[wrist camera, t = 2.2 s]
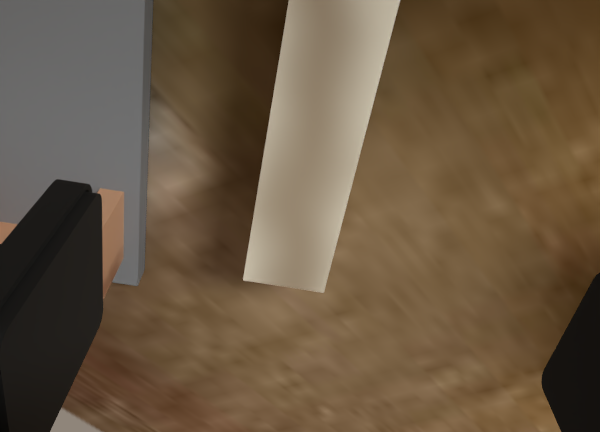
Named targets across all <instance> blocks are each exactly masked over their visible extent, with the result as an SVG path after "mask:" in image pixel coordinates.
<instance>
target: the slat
mask: <svg viewBox="0 0 600 432" xmlns="http://www.w3.org/2000/svg"><path fill="white" fill-rule="evenodd" d="M399 3H400V0H289V2H288V8H287V14H286V21H285V27H284V33H283V39H282V45H281V51H280V57H279V63H278V69H277V75H276V81H275V88H274V94H273V100H272V106H271V112H270V118H269V124H268V130H267V136H266V142H265V149H264V155H263V161H262V167H261V173H260V179H259V185H258V191H257V197H256V203H255V209H254V216H253V222H252V228H251V234H250V240H249V246H248V252H247V258H246V264H245V270H244V276H243V280H244V281H251V282H257V283H264V284H270V285H276V286H283V287H289V288H296V289H302V290H309V291H315V292H322V293H324V290H325V286H326V282H327V278H328V275H329V271H330V267H331V263H332V259H333V255H334V252H335V248H336V244H337V240H338V236H339V232H340V229H341V225H342V221H343V217H344V213H345V210H346V206H347V202H348V198H349V194H350V190H351V187H352V183H353V179H354V175H355V171H356V168H357V164H358V160H359V156H360V152H361V148H362V145H363V141H364V137H365V133H366V129H367V125H368V122H369V118H370V114H371V110H372V106H373V103H374V99H375V95H376V91H377V87H378V83H379V80H380V76H381V72H382V68H383V64H384V60H385V57H386V53H387V49H388V45H389V41H390V38H391V34H392V30H393V26H394V22H395V18H396V15H397V11H398V7H399Z"/></svg>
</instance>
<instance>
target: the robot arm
mask: <svg viewBox="0 0 600 432" xmlns="http://www.w3.org/2000/svg"><path fill="white" fill-rule="evenodd" d="M102 314H103V246H102V197H101V195H100V194H98V193H92V188H91V186H90V184H86V183H79V182H73V181H67V180H60V179H56V180H55V181H54V182H53V183H52V184H51V185H50V186H49V187H48V189H47V190H46V191H45V192H44V193H43V195H42V196H41V197H40V198H39V199H38V201H37V202H36V203H35V204H34V205H33V207H32V208H31V209H30V210H29V211H28V213H27V214H26V215H25V216H24V217H23V219H22V220H21V221H20V222H19V223H18V224H17V226H16V227H15V228H14V229H13V230H12V232H11V233H10V234H9V235H8V236H7V238H6V239H5V240H4V241H3V242H2V244H0V432H50V430H51V428H52V426H53V424H54V422H55V420H56V417H57V415H58V413H59V411H60V409H61V407H62V405H63V403H64V400H65V398H66V396H67V394H68V392H69V390H70V388H71V386H72V384H73V381H74V379H75V377H76V375H77V373H78V371H79V369H80V367H81V364H82V362H83V360H84V358H85V356H86V354H87V352H88V350H89V347H90V345H91V343H92V341H93V339H94V337H95V335H96V333H97V330H98V328H99V326H100V323H101V319H102ZM542 388H543V391H544V393H545V395H546V398H547V400H548V402H549V405H550V407H551V409H552V411H553V414H554V416H555V418H556V421H557V423H558V425H559V427H560V430H561V432H600V273H598V274H597V275H596V276H595V278H594V279H593V281H592V283H591V285H590V287H589V288H588V290H587V292H586V294H585V296H584V298H583V299H582V301H581V303H580V305H579V307H578V308H577V310H576V312H575V314H574V316H573V318H572V319H571V321H570V323H569V325H568V327H567V329H566V330H565V332H564V334H563V336H562V338H561V340H560V341H559V343H558V345H557V347H556V349H555V351H554V352H553V354H552V356H551V358H550V360H549V362H548V363H547V365H546V367H545V369H544V371H543V374H542Z"/></svg>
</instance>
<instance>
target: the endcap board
mask: <svg viewBox="0 0 600 432" xmlns="http://www.w3.org/2000/svg"><path fill="white" fill-rule="evenodd" d="M152 23H153V0H0V244H2V242H3V241H4V240H5V239H6V238H7V236H8V235H9V234H10V233H11V232H12V230H13V229H14V228H15V227H16V226H17V224H18V223H19V222H20V221H21V220H22V219H23V217H24V216H25V215H26V214H27V213H28V211H29V210H30V209H31V208H32V207H33V205H34V204H35V203H36V202H37V201H38V199H39V198H40V197H41V196H42V195H43V193H44V192H45V191H46V190H47V189H48V187H49V186H50V185H51V184H52V183H53V182H54V181H55V180H56V179H60V180H67V181H73V182H79V183H86V184H90V186H91V188H92V193H98V194H100V195H101V197H102V246H103V299H104V297H105V295H106V293H107V291H108V289H109V287H110V285H111V283H112V282H114V283H120V284H127V285H134V286H138V284H139V282H140V279H141V277H142V275H143V272H144V268H145V237H146V207H147V176H148V145H149V115H150V84H151V53H152Z"/></svg>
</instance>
